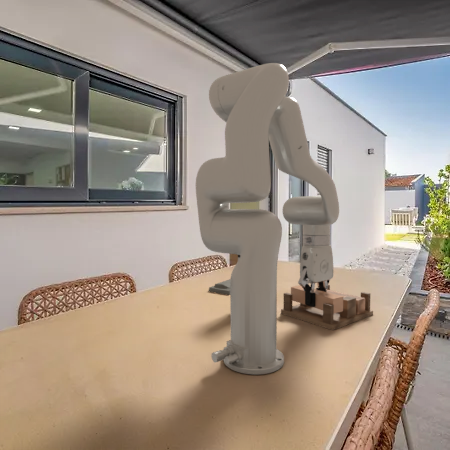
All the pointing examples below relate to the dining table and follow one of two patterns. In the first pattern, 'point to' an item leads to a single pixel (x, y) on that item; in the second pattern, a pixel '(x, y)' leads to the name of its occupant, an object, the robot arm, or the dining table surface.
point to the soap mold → (221, 287)
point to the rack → (330, 310)
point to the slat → (318, 298)
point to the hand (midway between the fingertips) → (315, 303)
